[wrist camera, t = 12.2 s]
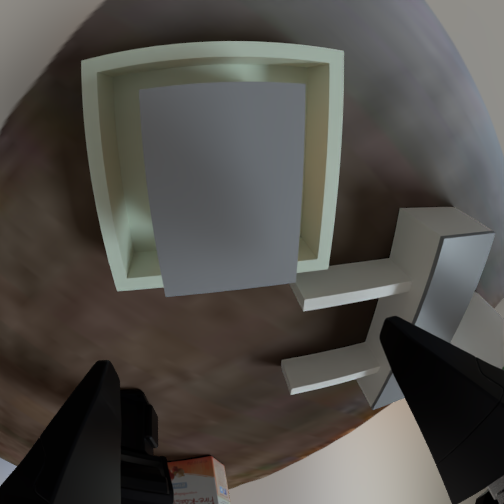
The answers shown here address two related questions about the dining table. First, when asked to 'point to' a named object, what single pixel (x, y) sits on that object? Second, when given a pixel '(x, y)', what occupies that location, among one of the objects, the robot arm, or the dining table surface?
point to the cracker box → (199, 481)
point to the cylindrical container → (481, 332)
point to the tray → (191, 72)
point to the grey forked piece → (394, 297)
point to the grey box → (224, 182)
